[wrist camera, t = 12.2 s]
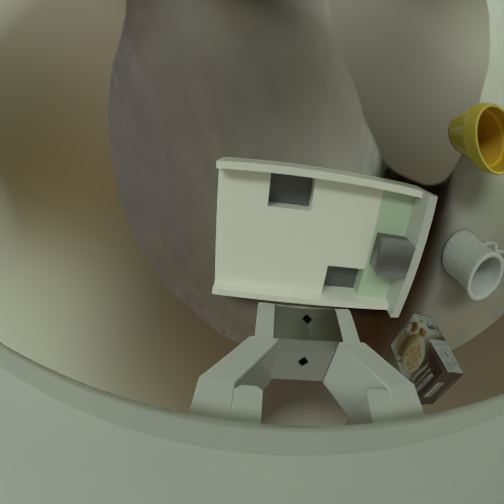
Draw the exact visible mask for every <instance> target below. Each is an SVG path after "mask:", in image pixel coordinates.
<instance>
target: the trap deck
mask: <svg viewBox="0 0 504 504" xmlns="http://www.w3.org/2000/svg"><path fill="white" fill-rule="evenodd" d="M216 168H219V178H218V198H217V223H216V255H215V283H214V285H213V288H212V294H218V295H226V296H234V297H242V298H250V299H259V300H268V301H278V302H288V303H298V304H309V305H321V306H333V307H347V308H362V309H379V310H387V311H388V313H389V315H390V317H397V318H398V317H399V315H400V312H401V310H402V307H403V305H404V303H405V300H406V298H407V295H408V293H409V290H410V287H411V285H412V282H413V279H414V277H415V274H416V271H417V268H418V265H419V262H420V259H421V256H422V253H423V250H424V247H425V243H426V240H427V237H428V233H429V230H430V226H431V222H432V219H433V215H434V211H435V207H436V202H437V198H438V197H437V196H435V195H433V194H431V193H429V192H428V191H426V190H424V189H422V188H420V187H418V186H416V185H411V184H407V183H403V182H399V181H394V180H390V179H385V178H380V177H375V176H370V175H365V174H360V173H354V172H349V171H343V170H337V169H331V168H324V167H318V166H311V165H304V164H296V163H288V162H279V161H270V160H259V159H248V158H235V157H222V158H220V159H218V160H216ZM377 232H379V233H386V234H392V235H398V236H404V237H406V238H407V239H408V240H409V241H410V242H411V243H412V244H413V245H414V246H415V247H416V248H415V252H414V255H413V258H412V261H411V264H410V267H409V270H408V273H407V275H406V278H399V277H389V276H380V275H376V273H375V271H374V270H373V268H372V266H371V265H370V263H369V261H370V257H371V254H372V250H373V246H374V243H375V239H376V235H377Z"/></svg>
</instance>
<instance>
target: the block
mask: <svg viewBox="0 0 504 504" xmlns="http://www.w3.org/2000/svg"><path fill="white" fill-rule="evenodd" d="M415 248H416V247H415V246H414V245H413V244H412V243H411V242H410V241H409V240H408V239H407V238H406V237H404V236H398V235H392V234H386V233H379V232H377V235H376V239H375V243H374V246H373V250H372V254H371V257H370V261H369V263H370V265H371V266H372V268H373V270H374V271H375V273H376V275H380V276H389V277H399V278H406V275H407V273H408V270H409V267H410V264H411V261H412V258H413V255H414V252H415Z"/></svg>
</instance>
